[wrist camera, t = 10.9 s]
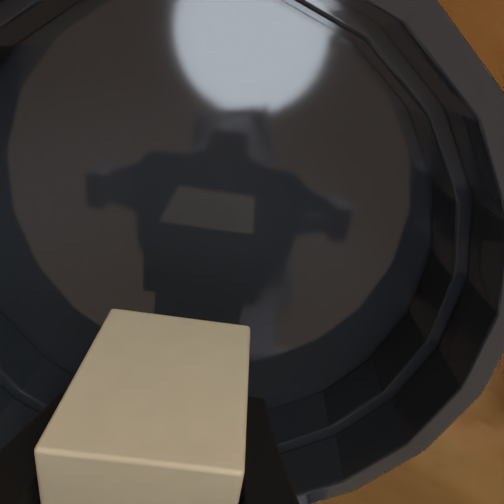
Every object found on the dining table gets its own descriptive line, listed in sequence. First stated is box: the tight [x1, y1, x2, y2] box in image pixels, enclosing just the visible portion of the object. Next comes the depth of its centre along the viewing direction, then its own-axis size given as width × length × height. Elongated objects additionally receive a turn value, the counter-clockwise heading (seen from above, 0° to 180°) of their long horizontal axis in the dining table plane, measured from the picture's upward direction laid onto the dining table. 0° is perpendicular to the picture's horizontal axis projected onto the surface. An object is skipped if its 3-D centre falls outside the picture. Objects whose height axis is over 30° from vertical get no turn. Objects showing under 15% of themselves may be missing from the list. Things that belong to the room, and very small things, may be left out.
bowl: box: [0, 0, 504, 504], centre depth 11 cm, size 15×15×4 cm
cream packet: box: [34, 309, 250, 504], centre depth 10 cm, size 5×3×4 cm
